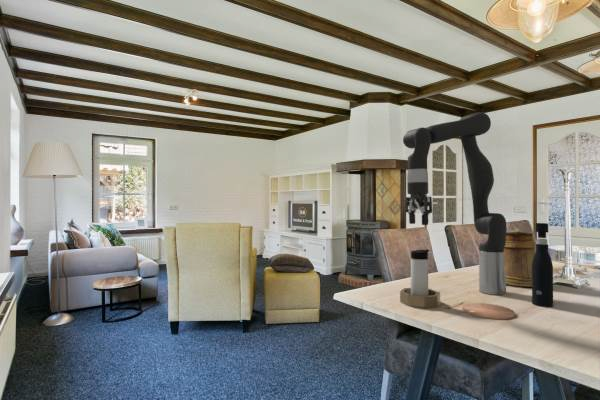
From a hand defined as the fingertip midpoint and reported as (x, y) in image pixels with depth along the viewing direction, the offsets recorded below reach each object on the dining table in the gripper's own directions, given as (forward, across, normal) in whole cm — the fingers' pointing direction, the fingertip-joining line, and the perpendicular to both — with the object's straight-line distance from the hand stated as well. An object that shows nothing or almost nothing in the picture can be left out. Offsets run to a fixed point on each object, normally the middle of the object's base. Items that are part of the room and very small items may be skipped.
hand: (418, 224), depth 134 cm
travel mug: (+30, 0, 0) cm, 30 cm away
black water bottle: (+30, -14, -42) cm, 54 cm away
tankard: (+31, +18, -64) cm, 73 cm away
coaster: (+30, -16, -16) cm, 37 cm away
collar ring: (+30, 0, 0) cm, 30 cm away
